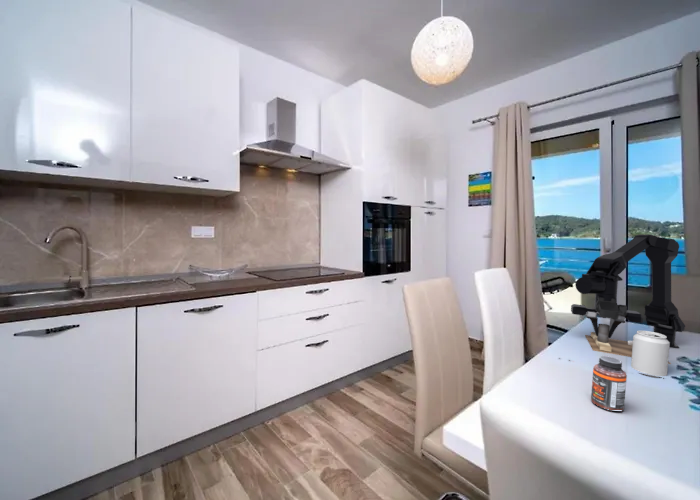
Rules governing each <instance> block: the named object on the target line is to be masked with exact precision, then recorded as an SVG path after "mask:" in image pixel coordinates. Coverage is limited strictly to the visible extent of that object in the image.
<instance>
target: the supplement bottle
mask: <svg viewBox="0 0 700 500" xmlns="http://www.w3.org/2000/svg"><path fill="white" fill-rule="evenodd" d="M622 367H623V362H622V361H621V360H620V359H619V358H616V357H612V356H608V355H607V356H606V355H602V356H601V355H600V356H599V358H598V363H597V364H594V366H593V369H592V370H593V371H592V380H591V381H592V384H591V393H590V400H591V402H592V403H593V404H594V405H595V404H596V405H597V406H596V405H595V406H596V407H598V406H600V407H602V408H605V409H609V410H623V409H624V410H625V402H626V401H625V400H626V392H627V391H626V388H627V377H628V375H627V373H626V371H625V370H623V368H622ZM600 407H599V408H600ZM602 408H601V409H602ZM624 410H623V411H624Z"/></svg>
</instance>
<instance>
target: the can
mask: <svg viewBox="0 0 700 500" xmlns="http://www.w3.org/2000/svg"><path fill="white" fill-rule="evenodd" d="M666 338H667V337H666V336H665V335H663V334H659V333H655V332H654V331H649V330H637V331H636V333H635V334H633V337H632V340H633V347H632V357H631V362H630V366H631V369H633V370H636V371H638V374H640V375H641V376H645V377H647V378H654V379H662V378H663V377H666V376H668V370H669V368H668V367H669V364H668V361H669V359H670V358H669V357H670V347H669V346H670V342H669V341H668V340H667V339H666Z"/></svg>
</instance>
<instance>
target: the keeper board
mask: <svg viewBox="0 0 700 500" xmlns="http://www.w3.org/2000/svg"><path fill="white" fill-rule="evenodd" d="M584 336H585V338H586V340H587V342H588V344H589V347H590V348H591V350H592V351H594V352H599V353H600V352H601V353H604V354H605V353H606V354H611V355H616V356H623V357H628V358H632V347H633V339H632V340H628V341H626V340H621V339H615V338H609V339H608V343H609V344H610V346H611V347H612V349H611V352H610V351H604V350H600V349H599V348H598V346H597V344H596V342H595V341H594V339H593V338H592V337H591V335H589V334H584ZM671 364H672V363H671V362H670V361H669V360H668V365H671Z"/></svg>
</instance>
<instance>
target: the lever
mask: <svg viewBox="0 0 700 500" xmlns="http://www.w3.org/2000/svg"><path fill="white" fill-rule="evenodd" d="M609 325H610V324H609ZM609 325H608V324H607V323H598V336H596V334H595V331H591V332H590V336H591V337H592V338H593V339H594V341H595V342H596V344H597V346H598V348H599V349H600V350H604V351H610V352H611V349H612V347H611V346H610V344H609V343H608V339H610V338H609Z"/></svg>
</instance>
